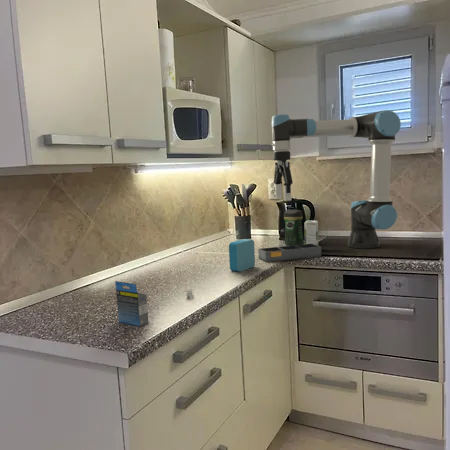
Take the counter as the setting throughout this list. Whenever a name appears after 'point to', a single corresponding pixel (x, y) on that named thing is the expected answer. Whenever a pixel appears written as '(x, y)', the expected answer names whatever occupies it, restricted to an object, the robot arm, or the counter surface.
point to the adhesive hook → (189, 294)
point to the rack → (289, 252)
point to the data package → (241, 255)
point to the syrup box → (311, 232)
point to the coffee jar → (293, 227)
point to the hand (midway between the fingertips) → (283, 199)
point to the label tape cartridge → (131, 304)
